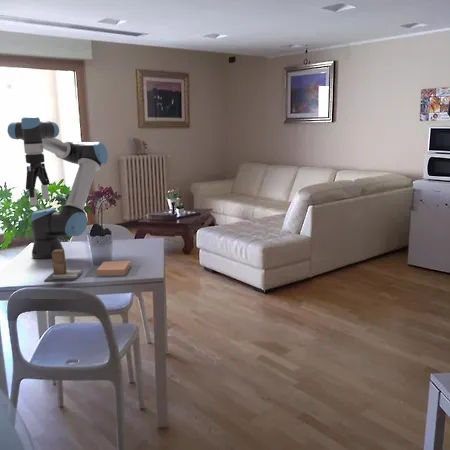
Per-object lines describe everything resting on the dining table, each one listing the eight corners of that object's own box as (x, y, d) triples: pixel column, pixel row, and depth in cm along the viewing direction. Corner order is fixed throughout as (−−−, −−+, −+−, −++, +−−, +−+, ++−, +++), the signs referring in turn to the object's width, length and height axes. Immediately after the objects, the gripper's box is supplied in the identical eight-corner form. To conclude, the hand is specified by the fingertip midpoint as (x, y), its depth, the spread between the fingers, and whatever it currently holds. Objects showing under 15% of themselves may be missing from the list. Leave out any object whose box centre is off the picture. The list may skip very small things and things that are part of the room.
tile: (103, 261, 211) (130, 260, 211) (104, 266, 212) (130, 266, 212) (96, 270, 200) (124, 269, 200) (97, 275, 200) (124, 274, 200)
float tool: (59, 272, 204) (56, 248, 202) (82, 271, 204) (79, 247, 202) (52, 278, 196) (49, 253, 194) (76, 278, 196) (73, 252, 194)
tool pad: (54, 273, 206) (54, 271, 206) (81, 272, 206) (81, 270, 206) (44, 282, 195) (44, 280, 195) (73, 282, 195) (72, 279, 194)
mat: (93, 267, 214) (93, 266, 214) (141, 265, 213) (141, 264, 213) (83, 278, 199) (83, 277, 199) (135, 276, 199) (134, 275, 199)
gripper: (31, 155, 190) (37, 206, 195) (53, 151, 215) (58, 196, 220) (13, 156, 191) (19, 207, 195) (37, 151, 215) (42, 197, 220)
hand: (40, 202), depth 207 cm, fingers open, 13 cm apart
